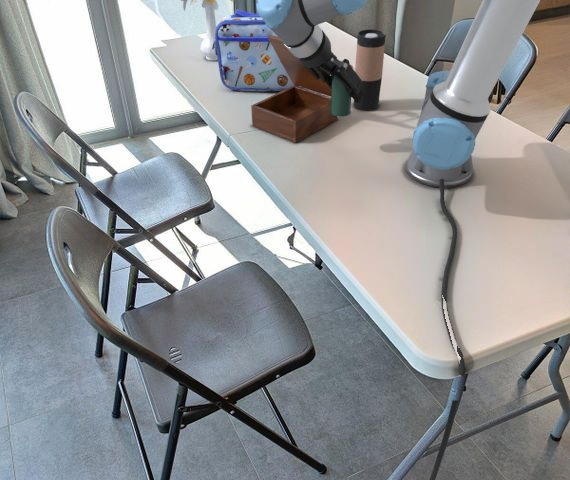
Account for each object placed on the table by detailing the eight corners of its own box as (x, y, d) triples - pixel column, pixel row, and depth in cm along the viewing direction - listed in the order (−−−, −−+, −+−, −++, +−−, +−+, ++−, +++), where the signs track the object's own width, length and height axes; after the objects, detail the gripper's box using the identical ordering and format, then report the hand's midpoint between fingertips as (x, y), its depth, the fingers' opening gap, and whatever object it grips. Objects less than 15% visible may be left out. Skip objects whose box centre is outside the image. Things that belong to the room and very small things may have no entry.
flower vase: (184, 55, 193) (172, -24, 176) (234, 49, 197) (228, -29, 180) (190, 68, 184) (179, -14, 167) (243, 61, 188) (237, -20, 171)
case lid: (314, 49, 132) (329, 27, 132) (267, 36, 140) (281, 16, 140) (337, 98, 148) (350, 79, 148) (293, 84, 156) (306, 66, 156)
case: (295, 143, 142) (295, 121, 138) (252, 126, 150) (251, 105, 146) (337, 119, 152) (338, 99, 148) (294, 105, 160) (294, 85, 156)
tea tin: (342, 118, 130) (344, 72, 123) (326, 113, 132) (327, 67, 125) (354, 111, 133) (357, 66, 125) (338, 106, 135) (340, 61, 128)
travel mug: (348, 108, 157) (352, 35, 144) (358, 98, 162) (363, 27, 149) (373, 113, 155) (380, 39, 141) (382, 103, 160) (390, 31, 146)
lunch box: (214, 93, 168) (205, 16, 153) (220, 80, 175) (213, 6, 161) (302, 94, 165) (303, 17, 150) (305, 81, 173) (305, 6, 158)
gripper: (350, 33, 108) (388, 89, 128) (283, 17, 117) (328, 72, 137) (333, 68, 108) (373, 118, 128) (267, 50, 117) (315, 99, 137)
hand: (350, 94), depth 132 cm, fingers closed on tea tin, 5 cm apart
